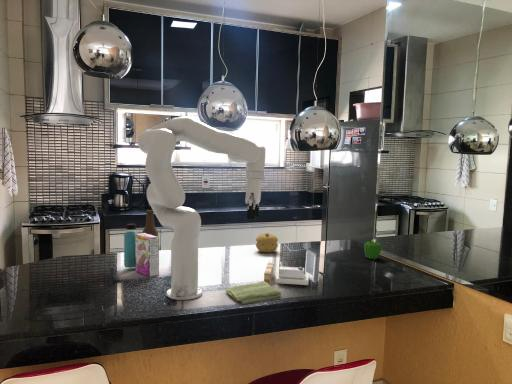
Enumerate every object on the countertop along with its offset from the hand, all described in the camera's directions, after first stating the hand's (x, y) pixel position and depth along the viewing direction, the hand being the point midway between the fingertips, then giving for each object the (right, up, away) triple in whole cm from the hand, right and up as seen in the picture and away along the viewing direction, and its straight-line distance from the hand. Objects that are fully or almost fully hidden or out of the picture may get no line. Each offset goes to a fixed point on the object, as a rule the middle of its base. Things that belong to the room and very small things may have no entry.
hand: (252, 217), depth 164 cm
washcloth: (0, -28, -18) cm, 33 cm away
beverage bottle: (-53, -23, +11) cm, 59 cm away
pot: (+7, -21, +49) cm, 54 cm away
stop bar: (+16, -25, -1) cm, 30 cm away
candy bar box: (-45, -24, +5) cm, 51 cm away
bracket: (+16, -26, -1) cm, 30 cm away
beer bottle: (-49, -22, +27) cm, 60 cm away
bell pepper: (+60, -23, +40) cm, 76 cm away
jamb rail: (+6, -25, 0) cm, 26 cm away
